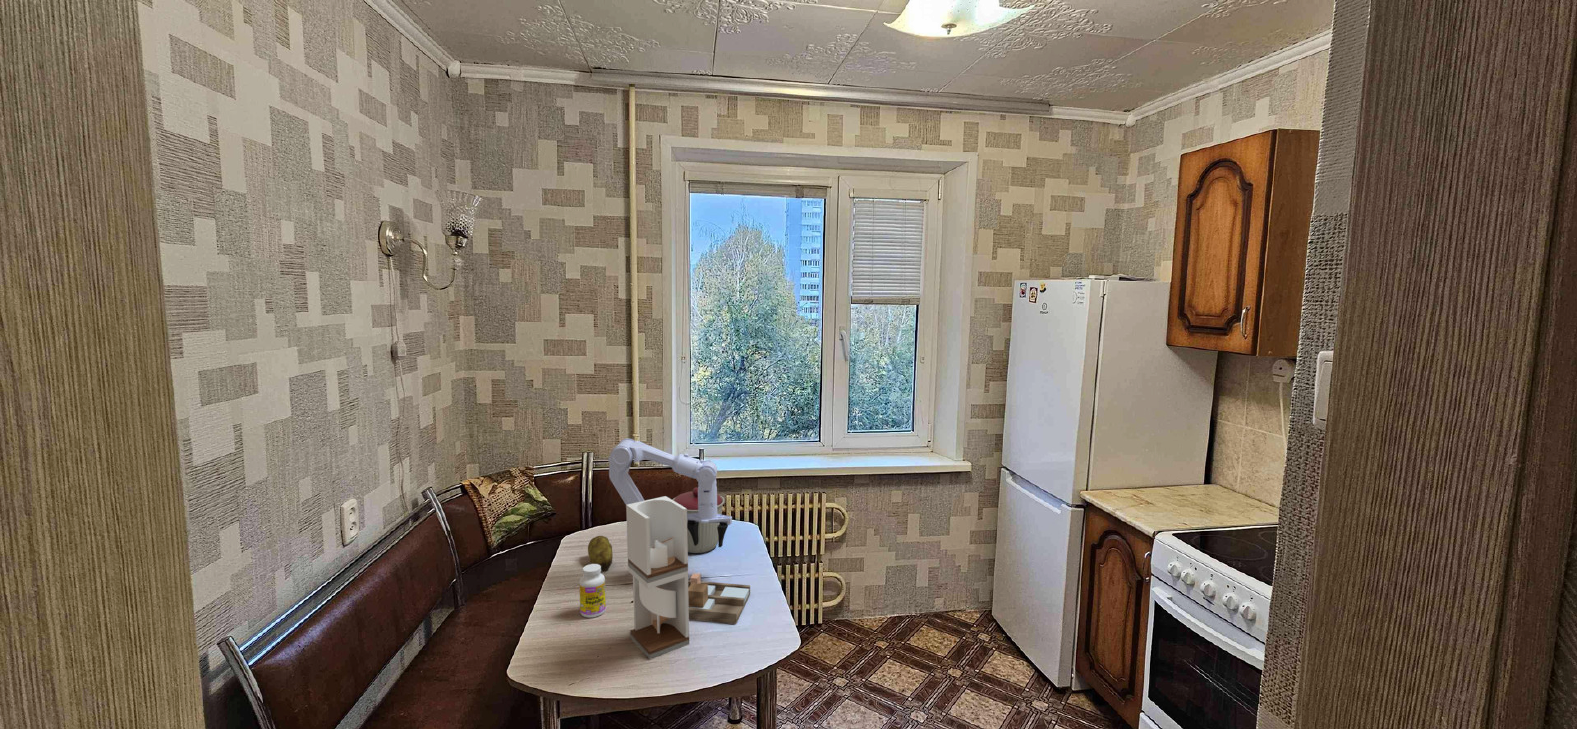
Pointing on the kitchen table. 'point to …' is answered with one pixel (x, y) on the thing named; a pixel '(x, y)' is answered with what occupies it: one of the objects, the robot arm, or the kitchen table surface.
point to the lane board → (720, 605)
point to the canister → (705, 530)
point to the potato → (600, 552)
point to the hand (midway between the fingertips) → (708, 545)
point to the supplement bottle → (592, 591)
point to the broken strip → (726, 592)
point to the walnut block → (698, 595)
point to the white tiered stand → (658, 574)
